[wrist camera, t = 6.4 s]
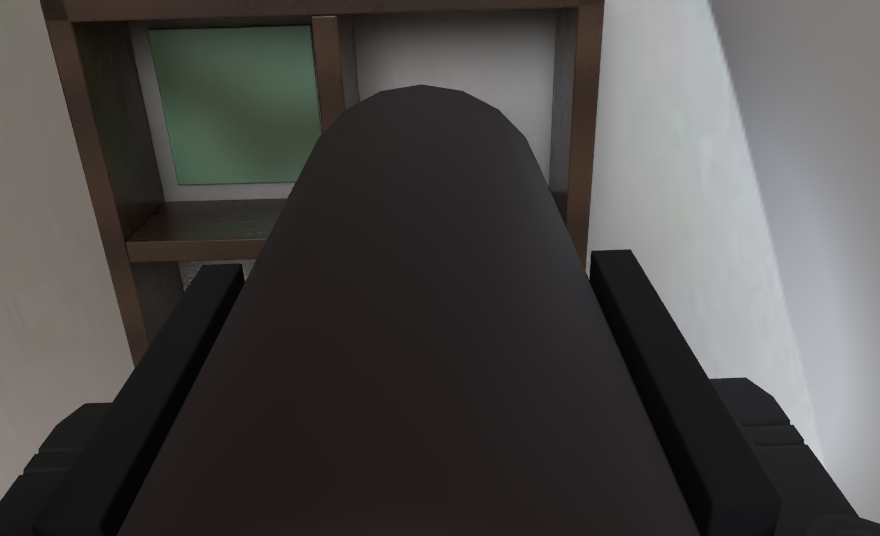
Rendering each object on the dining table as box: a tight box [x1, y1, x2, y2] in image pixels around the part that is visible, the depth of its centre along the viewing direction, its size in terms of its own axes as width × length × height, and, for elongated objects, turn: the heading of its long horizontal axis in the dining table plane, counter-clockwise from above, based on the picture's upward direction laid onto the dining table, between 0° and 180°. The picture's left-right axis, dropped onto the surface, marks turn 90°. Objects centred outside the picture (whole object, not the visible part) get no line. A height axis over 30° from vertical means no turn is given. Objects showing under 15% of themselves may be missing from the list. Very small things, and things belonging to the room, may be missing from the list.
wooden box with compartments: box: [40, 0, 605, 367], centre depth 33 cm, size 21×21×5 cm
